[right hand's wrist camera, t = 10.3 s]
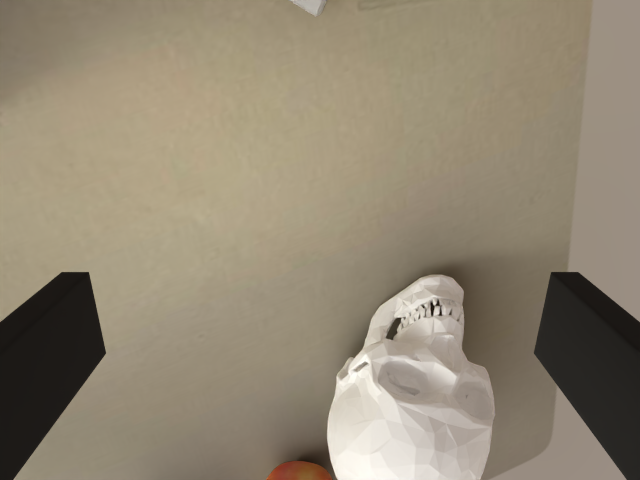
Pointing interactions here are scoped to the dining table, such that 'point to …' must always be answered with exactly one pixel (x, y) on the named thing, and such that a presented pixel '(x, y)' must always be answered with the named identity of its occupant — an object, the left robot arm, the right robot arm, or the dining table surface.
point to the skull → (413, 395)
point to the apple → (299, 471)
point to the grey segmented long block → (311, 5)
